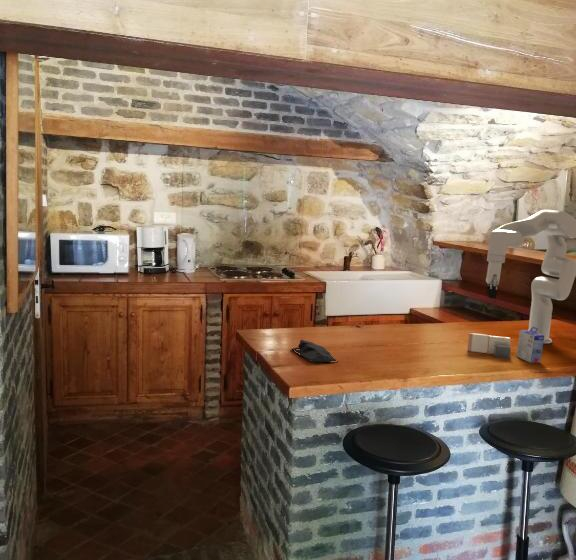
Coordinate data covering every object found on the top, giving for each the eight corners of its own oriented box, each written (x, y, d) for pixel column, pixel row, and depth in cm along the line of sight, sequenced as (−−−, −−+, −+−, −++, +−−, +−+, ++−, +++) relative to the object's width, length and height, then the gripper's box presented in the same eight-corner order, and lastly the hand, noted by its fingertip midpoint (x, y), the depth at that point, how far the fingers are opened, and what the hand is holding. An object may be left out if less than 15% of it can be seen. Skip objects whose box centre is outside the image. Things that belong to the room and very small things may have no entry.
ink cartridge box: (541, 363, 243) (545, 330, 240) (530, 363, 241) (534, 330, 239) (526, 355, 252) (530, 324, 250) (515, 356, 251) (519, 324, 248)
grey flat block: (467, 349, 257) (469, 332, 255) (486, 351, 255) (487, 334, 253) (467, 350, 255) (469, 333, 254) (486, 353, 253) (488, 335, 252)
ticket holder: (486, 349, 259) (488, 333, 257) (507, 352, 256) (509, 335, 255) (487, 356, 249) (489, 338, 248) (509, 358, 247) (511, 340, 245)
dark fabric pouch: (305, 366, 227) (306, 354, 226) (289, 350, 247) (289, 339, 247) (341, 364, 231) (341, 352, 231) (322, 348, 252) (322, 338, 251)
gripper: (485, 255, 261) (481, 292, 263) (488, 259, 244) (483, 298, 247) (502, 257, 259) (498, 294, 261) (507, 261, 242) (502, 300, 245)
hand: (491, 296), depth 254 cm, fingers open, 9 cm apart
